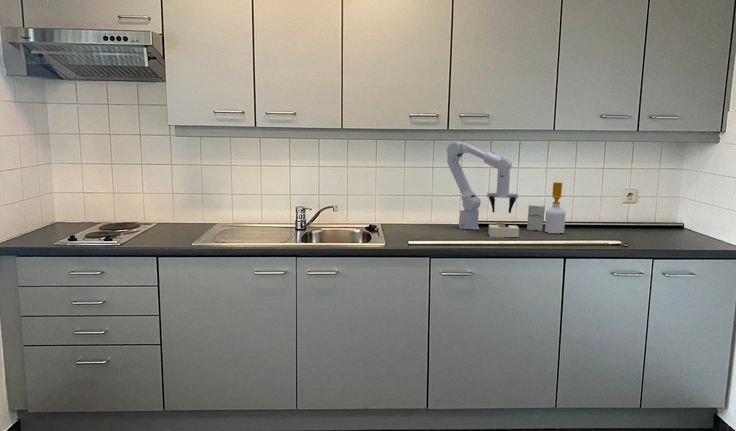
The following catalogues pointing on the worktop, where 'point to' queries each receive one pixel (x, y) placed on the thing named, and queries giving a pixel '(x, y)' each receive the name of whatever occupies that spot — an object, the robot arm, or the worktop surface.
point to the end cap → (503, 231)
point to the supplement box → (535, 217)
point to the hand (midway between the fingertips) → (501, 212)
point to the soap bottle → (555, 213)
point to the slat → (500, 224)
